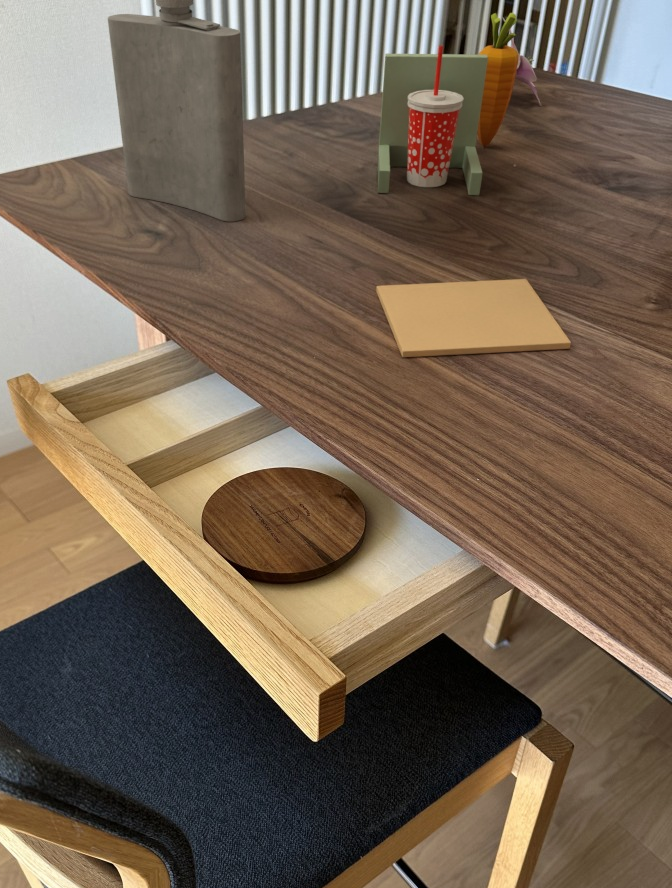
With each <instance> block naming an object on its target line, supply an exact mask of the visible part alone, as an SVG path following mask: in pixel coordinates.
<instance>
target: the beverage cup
mask: <svg viewBox="0 0 672 888" xmlns="http://www.w3.org/2000/svg"><path fill="white" fill-rule="evenodd" d="M437 51H438V52H437V54H438V59H437V68H436V78H435V87H434V90H421V91H416V92H413V93H410V94H409V95H408V98H407V99H408V103H407V104H408V107H409V131H408V159H407V167H406V182H407V183H409V184H410V185H412V186H416V187H419V188H437V187H442V186H443V185H445V184H446V182H447V179H448V174H449V170H450V168H449V164H450V159H451V153H452V148H453V143H454V137H455V132H456V126H457V121H458V115H459V110H460V108H461V107H462V102H463V100H464V98H463V96H462V95H460V94H458V93H455V92H451V91H445V90H439V81H440V72H441V63H442V54H443V52H444V45H443V44H439V45H438V50H437Z"/></svg>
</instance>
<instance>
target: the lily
mask: <svg viewBox="0 0 672 888" xmlns="http://www.w3.org/2000/svg"><path fill="white" fill-rule="evenodd" d="M501 17H502V18H501V19H502V20H503V22H504V23H505V21H506V19H505V18H504V17H503V16H501ZM508 33H509V34H510V33H513V32H512V29H510V30H509V32H508ZM510 41H511V45H510V47H512V48H514V49H515V50H516V51H517V52H518V55H519V59H518V65H517V71H516V76H515V80H518V81H521V82H523V83H524V84H526V85H527V86H528V87H529V88H530V89H531V90H532V92H533V94H534V96H535V98H536V100H537V101H538V103H539V106H542V104H541V102H540V98H539V96H538V89H537V87H536V85H534V83H535V82H537V81H538V77H537V75H536V73H535V70H534V68H533V67H532V64H533V63H532V62H534V61H535V59H534V58H532V57H531V58H530V56H528V58H527V57H526V56H524V55H520V53H519V50H518V48H517V46H516V43H515V40H514V37H513V38H512V39H511V40H510Z"/></svg>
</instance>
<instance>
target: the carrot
mask: <svg viewBox="0 0 672 888" xmlns="http://www.w3.org/2000/svg"><path fill="white" fill-rule="evenodd" d="M490 19H491V23H492V25H491V26H492V43H493V44H491V45H487V46H485V47H484V48H483V49H481V50H480V51H479V52H478V54H477V55H487V56H488V61H487V68H486V75H485V82H484V89H483V96H482V103H481V110H480V117H479V124H478V131H477V138H478V141H479V143H480V145H481V147H483V148H487V147H488V146H489V145H490V144H491V142H492V141H493V139H494V138H495V136H496V134H497V133H498V132H499V129H500V127H501V125H502V123H503V121H504V119H505V116H506V114H507V110H508V107H509V105H510V100H511V98H512V94H513V89H514V85H515V81H516V79H515V76H516V71H517V65H518V59H519V55H520V54H519V55H518V53H519V51H518V52H517V51H516V50H515V49H514V48H512V47H511V46H509V45H507V44H508V43H510V41H511V39H512V38H513V39H514V38H515V37H516V36H517V35H516V33H515V32H512V33H510V32H509V30H512V28H513V26H515V24H517V22H518V19H517V15H516V14H515V13H514V12H510V13H508V16H507V17H506V19H505V22H504V23H503V25H502V26H501V22H502V21H501V18H500V17H498V15H497V12H495V13H493V14H491V15H490ZM500 26H501V28H500ZM499 30H500V32H499ZM508 33H509V34H508Z"/></svg>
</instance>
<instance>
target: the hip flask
mask: <svg viewBox="0 0 672 888" xmlns="http://www.w3.org/2000/svg"><path fill="white" fill-rule="evenodd" d="M155 3H156V6H157V7H159V11H158V12H159V16H156V15H155V16H154V15H145V14H133V13H118V14H112V15H109V16H107V24H108V32H109V41H110V50H111V58H112V66H113V68H112V69H113V75H114V76H113V77H114V83H115V93H116V99H117V108H118V117H119V125H120V134H121V142H122V151H123V158H124V168H125V175H126V185H127V193H128V196H130V197H133V198H139V199H145V200H150V201H155V202H161V203H165V204H169V205H174V206H178V207H181V208H184V209H189V210H192V211H195V212H198V213H201V214H204V215H207V216H209V217H212V218H215V219H217V220H219V221H222V222H227V223H228V222H229V223H231V222H238V221H242V220H244V219H245V218H246V214H247V213H246V212H247V211H246V181H245V179H246V178H245V148H244V147H245V143H244V111H243V79H242V78H243V74H242V45H241V44H242V42H241V40H242V39H241V30H239V29H236V28H232V27H227V26H222V25H221V24H220V23H216V22H213V21H210V20H205V19H202V18H198V17H195V16H193V10H192V9H191V7H190V6H193V5H194V0H155Z"/></svg>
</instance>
